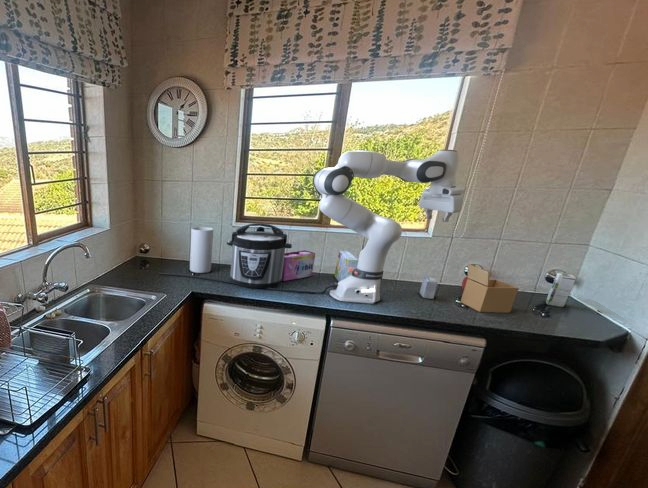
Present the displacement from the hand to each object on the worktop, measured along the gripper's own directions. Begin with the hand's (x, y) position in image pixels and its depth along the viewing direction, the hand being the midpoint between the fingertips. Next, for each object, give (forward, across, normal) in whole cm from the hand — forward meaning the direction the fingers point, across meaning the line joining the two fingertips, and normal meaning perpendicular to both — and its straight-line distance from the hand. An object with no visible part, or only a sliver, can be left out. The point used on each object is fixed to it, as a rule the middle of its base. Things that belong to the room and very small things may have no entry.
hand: (436, 220), depth 181 cm
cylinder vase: (+27, -59, -97) cm, 117 cm away
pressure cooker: (+30, -33, -73) cm, 85 cm away
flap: (+24, +13, +13) cm, 30 cm away
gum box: (+32, -42, -47) cm, 71 cm away
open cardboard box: (+40, +14, +19) cm, 46 cm away
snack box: (+35, -29, -24) cm, 52 cm away
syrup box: (+44, +14, +55) cm, 72 cm away
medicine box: (+38, -3, +4) cm, 39 cm away
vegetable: (+41, -5, +30) cm, 51 cm away
